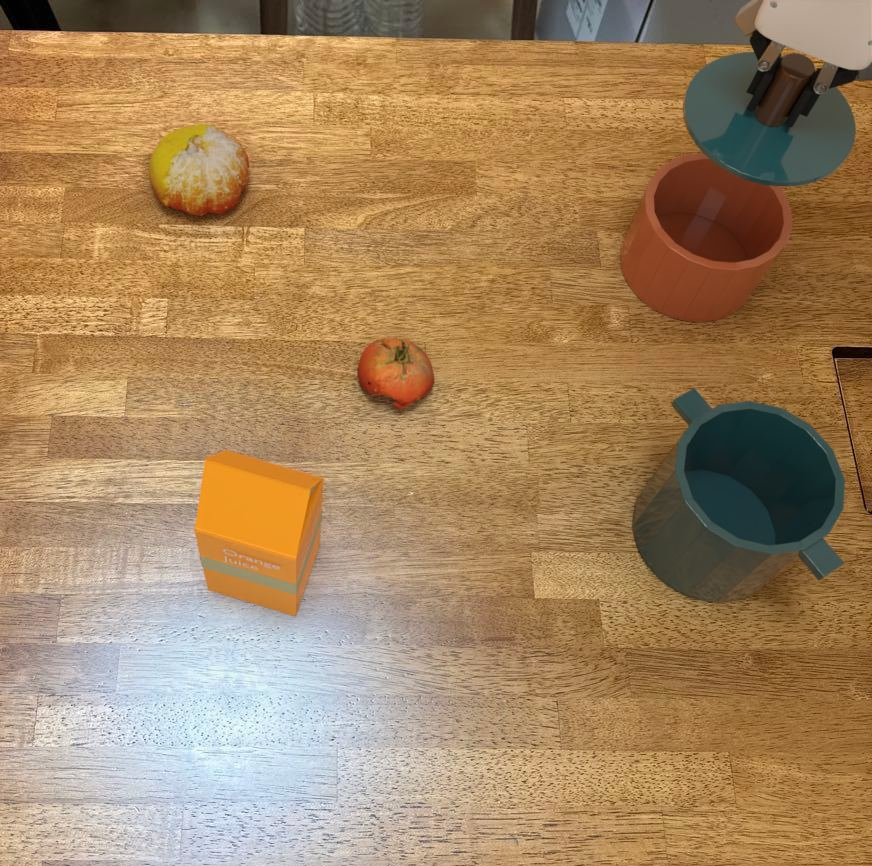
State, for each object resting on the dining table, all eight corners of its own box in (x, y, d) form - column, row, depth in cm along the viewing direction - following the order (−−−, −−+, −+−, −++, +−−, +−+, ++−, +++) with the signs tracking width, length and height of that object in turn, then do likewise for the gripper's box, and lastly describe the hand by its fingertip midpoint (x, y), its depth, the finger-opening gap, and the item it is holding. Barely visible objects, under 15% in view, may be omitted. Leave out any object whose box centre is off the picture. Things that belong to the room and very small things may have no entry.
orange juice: (296, 618, 95) (296, 533, 76) (206, 590, 96) (185, 500, 77) (320, 544, 98) (327, 445, 79) (233, 518, 99) (219, 415, 80)
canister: (696, 192, 116) (727, 132, 108) (783, 285, 112) (822, 230, 103) (592, 245, 113) (616, 188, 105) (678, 344, 108) (709, 292, 100)
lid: (772, 40, 98) (804, -22, 92) (884, 149, 93) (926, 91, 87) (646, 100, 94) (670, 39, 88) (756, 217, 89) (790, 161, 83)
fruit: (182, 242, 111) (162, 177, 104) (145, 198, 117) (124, 134, 110) (272, 201, 113) (258, 135, 107) (231, 160, 119) (216, 95, 113)
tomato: (453, 396, 103) (411, 370, 98) (402, 435, 106) (358, 411, 101) (429, 339, 107) (387, 311, 102) (380, 378, 110) (337, 352, 105)
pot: (698, 421, 105) (748, 354, 93) (830, 578, 98) (901, 526, 87) (585, 487, 101) (623, 425, 90) (715, 653, 95) (773, 609, 83)
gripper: (1003, -77, 75) (872, 116, 92) (793, -153, 78) (703, 48, 95) (978, -15, 72) (848, 172, 89) (761, -96, 75) (674, 100, 92)
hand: (774, 106), depth 92 cm, fingers closed on lid, 3 cm apart
